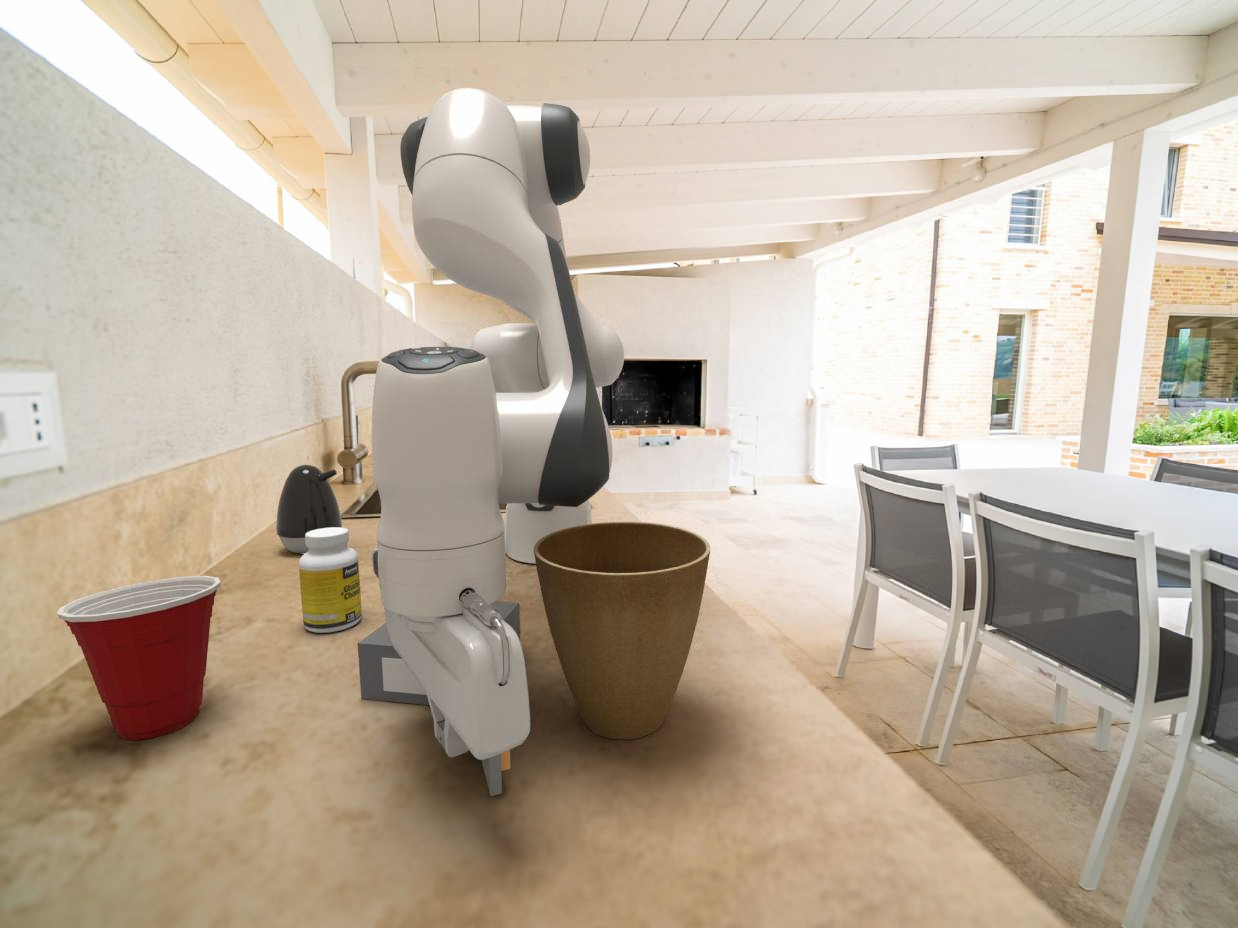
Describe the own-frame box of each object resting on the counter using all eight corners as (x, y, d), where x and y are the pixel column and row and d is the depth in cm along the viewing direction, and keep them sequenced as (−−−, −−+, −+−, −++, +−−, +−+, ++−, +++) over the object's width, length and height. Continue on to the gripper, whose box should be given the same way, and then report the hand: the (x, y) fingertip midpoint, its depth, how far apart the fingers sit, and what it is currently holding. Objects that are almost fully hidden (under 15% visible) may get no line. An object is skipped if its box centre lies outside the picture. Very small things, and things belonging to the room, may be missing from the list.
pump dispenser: (326, 558, 97) (320, 469, 95) (265, 558, 97) (257, 469, 95) (355, 541, 107) (349, 460, 105) (299, 541, 107) (292, 460, 105)
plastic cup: (211, 676, 58) (199, 561, 57) (251, 714, 52) (239, 586, 50) (64, 725, 50) (45, 592, 48) (89, 778, 43) (68, 626, 42)
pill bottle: (339, 637, 67) (332, 540, 66) (291, 632, 69) (282, 537, 67) (373, 615, 74) (367, 526, 72) (328, 611, 75) (322, 524, 73)
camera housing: (424, 642, 66) (421, 591, 65) (529, 650, 64) (528, 598, 63) (360, 699, 54) (356, 638, 53) (487, 711, 52) (484, 648, 51)
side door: (487, 796, 41) (485, 731, 40) (465, 709, 52) (463, 657, 51) (511, 790, 42) (509, 726, 41) (484, 705, 53) (483, 653, 52)
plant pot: (550, 673, 59) (548, 520, 57) (697, 675, 59) (700, 521, 56) (522, 770, 44) (517, 569, 42) (717, 774, 44) (722, 571, 42)
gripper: (552, 606, 36) (556, 807, 38) (440, 535, 52) (447, 678, 54) (453, 632, 32) (463, 853, 34) (366, 547, 49) (376, 700, 51)
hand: (452, 745), depth 44 cm, fingers closed
